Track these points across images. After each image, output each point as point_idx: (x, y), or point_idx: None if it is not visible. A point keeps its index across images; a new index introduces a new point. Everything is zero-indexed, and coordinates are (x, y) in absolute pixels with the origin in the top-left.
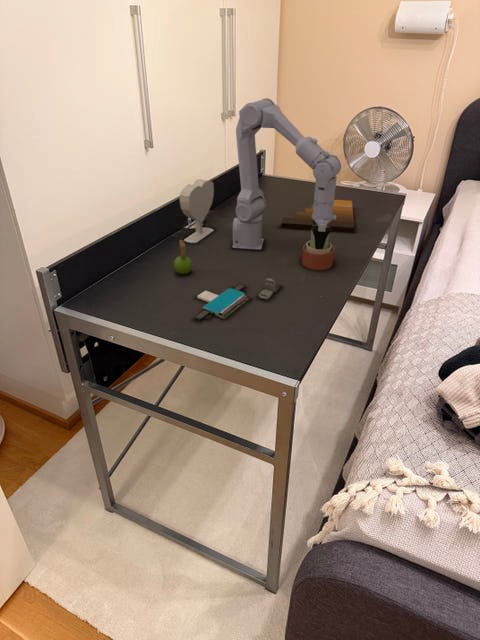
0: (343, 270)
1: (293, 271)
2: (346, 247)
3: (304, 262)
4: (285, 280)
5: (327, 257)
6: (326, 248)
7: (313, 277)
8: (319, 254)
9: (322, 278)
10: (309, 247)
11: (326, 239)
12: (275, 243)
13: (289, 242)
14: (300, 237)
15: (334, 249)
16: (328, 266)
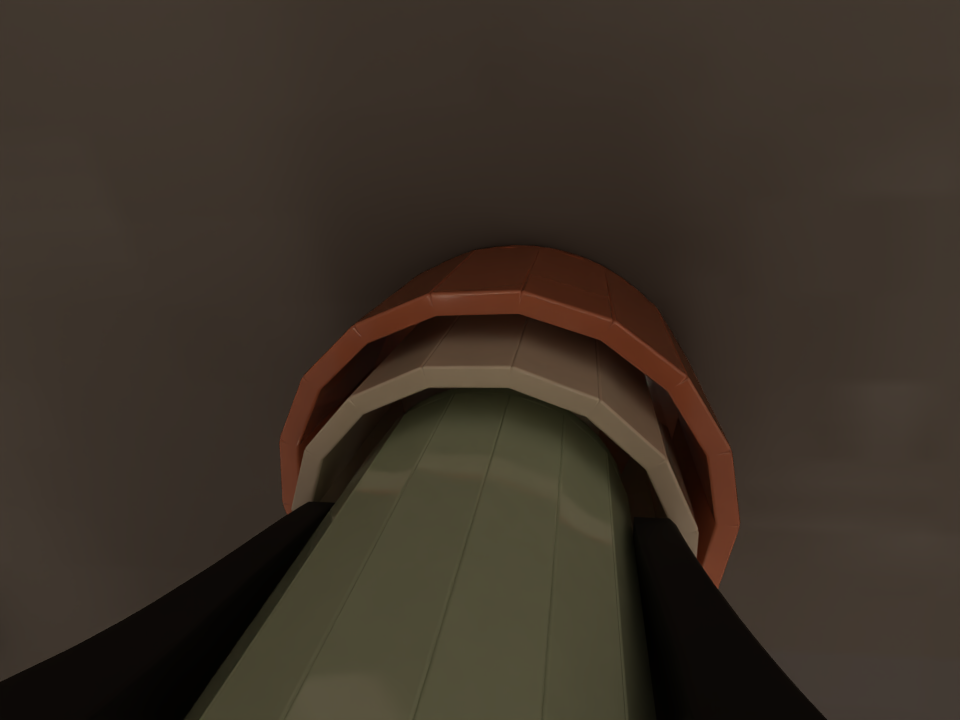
0: (666, 99)
1: (738, 608)
2: (50, 94)
3: None
4: (935, 675)
5: (692, 377)
6: (571, 442)
7: (873, 445)
8: (715, 515)
9: (902, 353)
10: None
11: (591, 587)
12: None
13: None
14: (68, 534)
15: (491, 294)
16: (646, 301)
